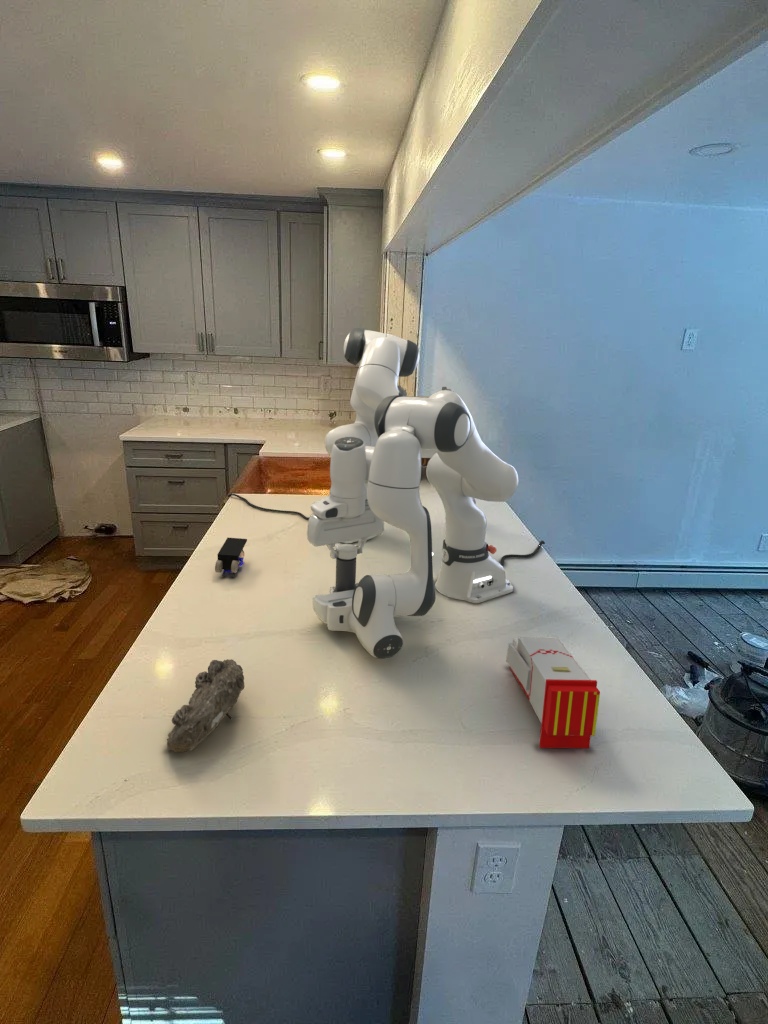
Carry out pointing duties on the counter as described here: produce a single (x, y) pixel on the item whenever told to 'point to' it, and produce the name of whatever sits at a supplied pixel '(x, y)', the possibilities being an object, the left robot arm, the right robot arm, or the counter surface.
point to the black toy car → (230, 556)
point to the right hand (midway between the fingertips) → (344, 587)
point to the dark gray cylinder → (345, 574)
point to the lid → (346, 551)
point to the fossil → (206, 705)
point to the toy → (555, 691)
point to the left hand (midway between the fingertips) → (346, 555)
